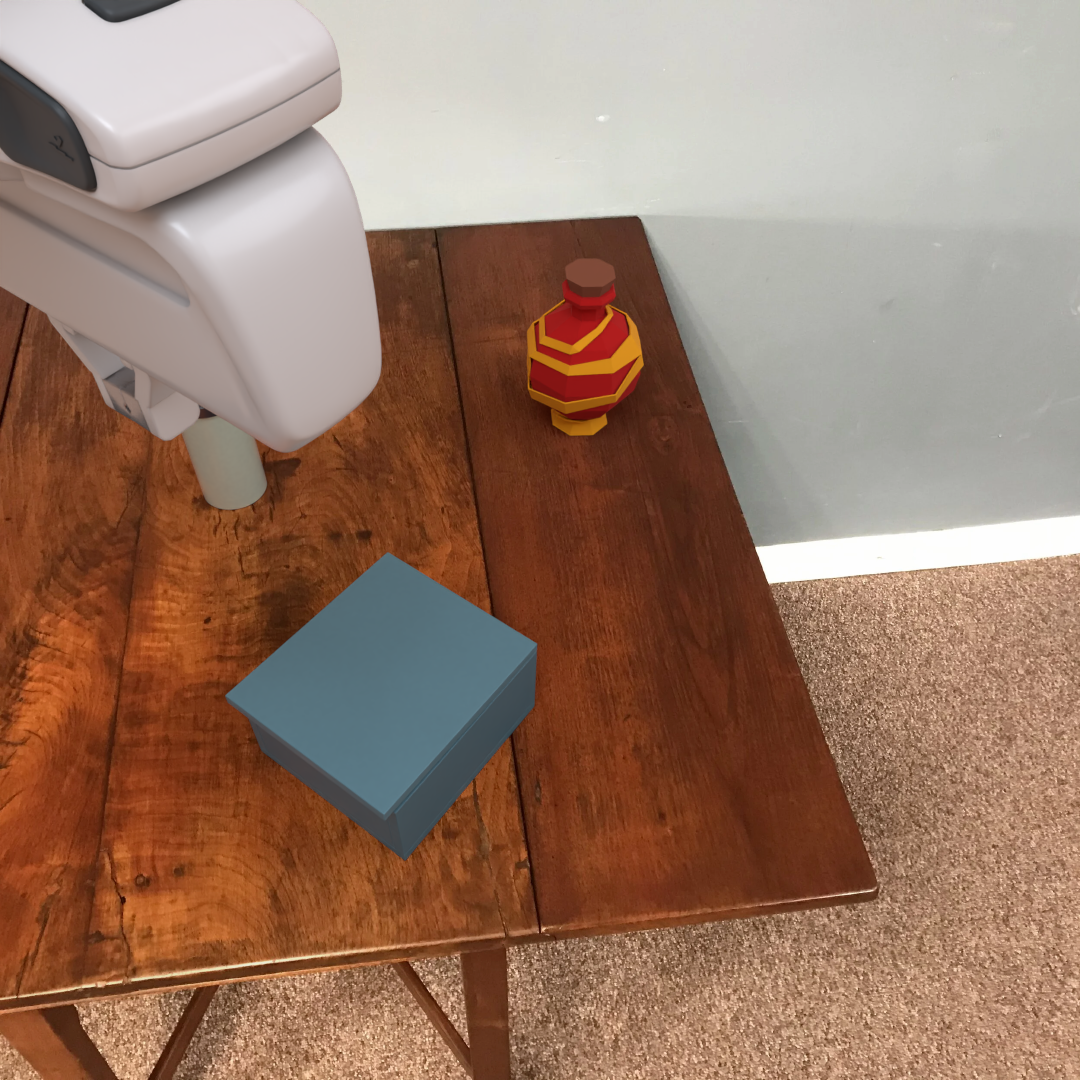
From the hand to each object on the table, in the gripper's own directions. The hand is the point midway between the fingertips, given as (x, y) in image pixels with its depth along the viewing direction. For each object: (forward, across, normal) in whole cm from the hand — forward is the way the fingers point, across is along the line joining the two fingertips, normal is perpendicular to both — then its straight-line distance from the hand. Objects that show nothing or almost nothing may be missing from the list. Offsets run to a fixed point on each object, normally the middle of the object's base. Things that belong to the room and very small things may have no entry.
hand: (156, 415), depth 33 cm
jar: (+34, -26, +17) cm, 46 cm away
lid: (+27, 0, +8) cm, 28 cm away
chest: (+34, 0, +8) cm, 35 cm away
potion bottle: (+34, -8, +42) cm, 55 cm away
